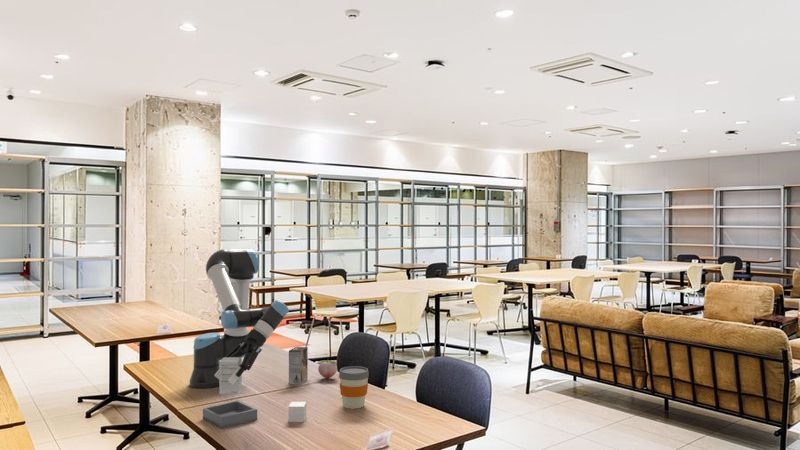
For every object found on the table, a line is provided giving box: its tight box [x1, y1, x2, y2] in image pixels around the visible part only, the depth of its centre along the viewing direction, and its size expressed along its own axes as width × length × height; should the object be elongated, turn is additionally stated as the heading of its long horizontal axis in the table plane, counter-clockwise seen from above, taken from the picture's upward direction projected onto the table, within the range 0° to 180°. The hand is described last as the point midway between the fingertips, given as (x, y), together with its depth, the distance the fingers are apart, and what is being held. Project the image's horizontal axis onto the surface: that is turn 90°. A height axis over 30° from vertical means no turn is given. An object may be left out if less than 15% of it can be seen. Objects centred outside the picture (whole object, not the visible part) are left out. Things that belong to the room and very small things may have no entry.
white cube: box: [288, 401, 307, 423], centre depth 223 cm, size 6×6×6 cm
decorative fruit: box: [318, 358, 338, 380], centre depth 283 cm, size 9×8×10 cm
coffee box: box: [288, 346, 309, 385], centre depth 276 cm, size 9×6×16 cm
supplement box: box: [219, 357, 243, 395], centre depth 223 cm, size 7×7×13 cm
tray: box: [202, 400, 258, 429], centre depth 223 cm, size 15×15×4 cm
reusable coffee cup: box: [338, 365, 370, 410], centre depth 241 cm, size 12×13×15 cm
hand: (223, 380), depth 220 cm, fingers closed on supplement box, 10 cm apart
